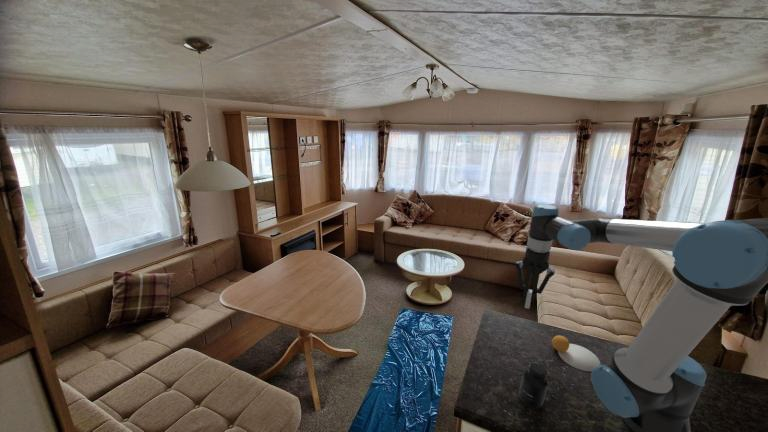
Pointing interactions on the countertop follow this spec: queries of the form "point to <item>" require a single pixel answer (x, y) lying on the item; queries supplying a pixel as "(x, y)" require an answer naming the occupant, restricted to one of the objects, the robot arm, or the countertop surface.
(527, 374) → the supplement bottle
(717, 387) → the countertop surface
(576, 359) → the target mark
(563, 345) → the ball
